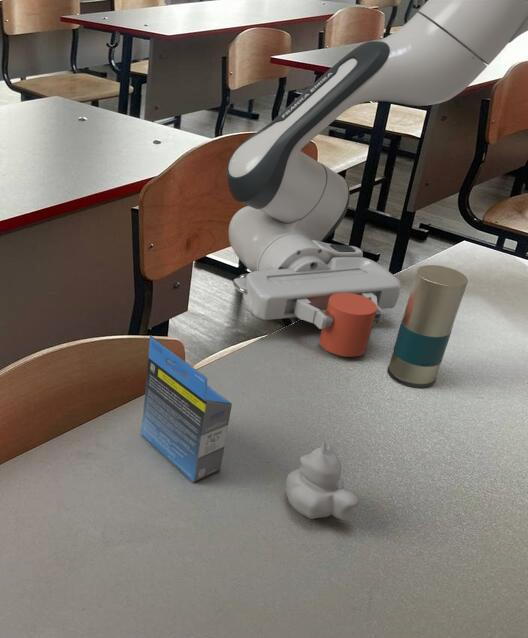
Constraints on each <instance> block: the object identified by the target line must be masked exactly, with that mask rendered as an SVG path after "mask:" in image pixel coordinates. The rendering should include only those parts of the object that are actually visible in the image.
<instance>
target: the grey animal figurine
mask: <svg viewBox="0 0 528 638" xmlns="http://www.w3.org/2000/svg"><path fill="white" fill-rule="evenodd" d="M300 463H301V466H300V468H297V469H294V470H292V471H291V472H290V473H288V475H287V476H286V481H285V491H286V492H285V493H286V496H287V500H288V502H289V504H290V505H291V507H292V508H293V509H294V510H296V512H298V513H299V514H301V515H302V516H305V517H306V518H308V519H310V520H315V519H318V518H319V519H321V518H326V517H327V518H328V517H329V516H332V517H335V518H337V519H339V520H343V521H346V520H347V521H348V520H349V519H350V518H351V517H352V511H353V510H354V509H355V508H356V507H357V506H358V504H359V498H358V496H357V495H356V494H355V493H353V492H352V491H350V490H348V489H346V488H344V487H345V486H344V485H345V484H344V483H345V482H344V479H343V478H342V477H341V474H342V463H341V460H340V458H339V456H338V454H337V452H336V451H335V449H334V447H333V446H332V445H329V446H327V444H326V440H325V439H324V440H323V441H322V445H321V446H320V447H317V448H315V449H313V450H312V451H310V453H308V454H304V455H302V456H301V457H300Z"/></svg>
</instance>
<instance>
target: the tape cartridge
mask: <svg viewBox="0 0 528 638" xmlns="http://www.w3.org/2000/svg"><path fill="white" fill-rule="evenodd" d="M148 342H149V343H148V356H147V358H148V359H147V366H146V367H147V368H146V369H147V370H146V379H145V389H144V390H145V391H144V400H143V401H144V402H143V410H142V421H141V430H140V434H141V436H142V437H143V438H145V439H146V441H148V442H149V443H150V444H151V445H152V446H153V447H154V448H155V449H157V450H158V451H159V452H160V453H161V454H162V455H163V456H164V457H165V458H166V459H167V460H168V461H169V462H171V464H173V465H174V466H175V467H176V468H177V469H178V470H179V471H181V472H182V473H183V475H185V476H186V477H187V478H188V479H189V480H190V481H191V482H193V483H195V482H199V481H200V480H202V479H205V478H207V477H209V476H210V475H213V474H216V473H218V472H220V471H221V469H222V462H223V457H224V452H225V447H226V446H225V445H226V440H227V435H228V429H229V422H230V417H231V412H232V406H233V403H232V402H231V401H230V400H228V399H227V398H226V397H224V396H223V395H222V394H220V393H219V392H217V391H216V390H214V388H212V387H211V386H209V385H208V377H207V376H206V375H205V374H203V373H201V372H200V371H199V370H197V369H196V368H195V367H193V366H192V365H191V364H189V363H188V362H187V361H186V360H184V359H183V358H182V357H180V356H179V355H178V354H176V353H175V352H174V351H172V350H171V349H169V348H168V347H167V346H165V345H164V344H163V343H161V342H160V341H159V340H158V339H156V338H155V337H154V336H152V335H149V341H148Z"/></svg>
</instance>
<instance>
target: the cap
mask: <svg viewBox="0 0 528 638" xmlns="http://www.w3.org/2000/svg"><path fill="white" fill-rule="evenodd" d="M327 310H328V311H329V313H330V314H332V315H333V316H334V321H333V323H332V324H333V326H332V327H331V328H325V329H320V330H321V331H320V335H319V339H318V342H319V345H320V346H321V348H322V349H324V350H325V351H327V352H329V353H332V354H334V355H336V356H340V357H345V358H346V357H347V358H348V357H349V358H353V357H359V356H362V355H363V354H365V353H366V350H367V347H368V344H369V340H370V337H371V333H372V329H373V325H374V323H373V322H374V319H375V315H376V311H377V306H376V304H375V303H374V302H373V301H372V300H370V299H368V298H366V297H364V296H361V295H358V294H353V293H337V294H334V295H332V296H331V297H330V298H329V301H328V305H327Z"/></svg>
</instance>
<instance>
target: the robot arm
mask: <svg viewBox="0 0 528 638" xmlns="http://www.w3.org/2000/svg"><path fill="white" fill-rule="evenodd" d="M527 32H528V0H427V1H426V2H425V3H424V4H423V5H422V6H421V7H420V8H419V10H418V12H416V13H415V14H414V15H413V16H412V17H411V18H410V19H409V20H408V21H407V22H405V24H403V25H402V26H401V27H399V28H398V29H397V30H396V31H394V32H392V33H391V34H389V35H387V36H386V37H383V38H382V39H379V40H371V41H366V42H364V43H362V44H359V45H358V46H357V47H355V48H354V49H352V50H351V51H349V52H348V53H347V54H345V56H343V57H342V58H341V59H340V60H338V61H337V62H336V63H335V64H334V65H333V66H332V67H331V68H329V69H328V70H327V71H326V72H325V73H324V74H322V75H321V76H320V77H319V78H318V79H317V80H316V81H315V82H314V83H313V84H312V85H310V86H309V87H308V88H307V89H305V91H304V92H302V93H301V94H300V95H299V96H298V97H297V98H296V99H294V100H293V102H291V104H289V105H288V106H287V107H286V108H285V109H283V111H282V112H280V113H279V115H277V116H276V117H275V118H274V119H273V120H272V121H271V122H269V123H268V124H267V125H265V126H264V127H262V128H261V129H259V130H258V131H256V132H255V133H254V134H252V135H250V136H249V137H247V138H246V139H245V140H244V141H243V142H241V143H240V144H239V145H238V146H237V147H236V148H235V150H234V151H233V153H232V154H231V155H230V157H229V159H228V162H227V166H226V180H227V185H228V190H229V192H230V195H231V197H232V198H233V200H235V201H236V202H239V203H241V204H243V205H246V206H244V207H241V208H240V209H239V210H238V211H236V212H235V214H233V216H232V218H231V219H230V222H229V225H228V231H227V232H228V240H229V244H230V247H231V248H232V251H233V252H234V254H235V256H236V257H237V258H238V259H239V260H240V262H241V263H242V264H243V265H244V266H245V268H247V270H249V271H250V272H249V273H243V274H240V275H238V277H236V278H234V279H233V280H232V285H233V287H234V289H236V290H237V291H238V292H239V293H241V294H242V297H243V300H244V302H245V304H246V306H247V308H248V309H249V311H250V312H251V313H252V314H253V316H254V317H256V318H257V319H260V320H264V321H271V320H280V319H281V320H282V319H290V318H298V319H299V320H303V321H304V322H308V323H310V324H314V326H316V327H317V328H318V329H319V330H322V329H325V328H331V327H332V326H333V324H332V323H333V321H334V316H333V315H332V314H330V313H329V311H328V310H327V305H328V301H329V298H330V297H331V296H332V295H334V294H337V293H353V294H358V295H361V296H364V297H366V298H368V299H370V300H372V301H373V302H374V303H375V304H376V306H377V311H376V315H375V319H374V322H373V324H381V323H383V321H384V317H385V311H384V310H383V309H393V308H394V307H395V306H396V305H397V302H398V299H399V297H400V294H401V289H402V288H401V287H402V285H401V281H400V279H399V278H397V276H396V275H394V274H393V273H391V271H389V270H388V269H387V268H385V267H384V266H382V265H381V264H380V263H378V262H377V261H374V260H372V259H370V258H367V257H364V255H363V254H364V252H363V250H362V249H361V248H359V247H357V246H354V245H342V244H335V243H327V242H324V241H325V240H327V239H328V238H329V237H331V235H332V234H333V233H334V232H335V231H336V230H337V228H338V227H339V226H340V225H341V223H342V221H343V220H344V218H345V216H346V214H347V212H348V208H349V205H350V196H351V195H350V194H351V193H350V187H349V183H348V181H347V180H346V178H345V177H344V176H342V175H340V174H339V173H337V172H336V171H334V170H333V169H331V168H330V167H328V166H326V165H325V164H323V163H322V162H319V161H317V160H316V159H314V158H312V157H311V156H310V155H307V154H306V153H305V152H303V151H302V149H304V148H305V146H307V145H308V144H309V143H310V142H311V141H312V140H314V139H315V138H316V137H317V136H318V135H319V134H320V133H321V132H323V131H324V130H325V129H326V128H327V127H328V126H330V125H331V124H332V123H333V122H334V121H335V120H336V119H338V117H339V118H340V116H341V115H342V114H343V113H345V112H346V111H347V110H349V109H350V108H352V107H355V106H357V105H359V104H363V103H368V102H390V103H396V104H402V105H407V106H416V107H417V106H419V107H421V106H431V105H432V106H433V105H437V104H441V103H445V102H447V101H450V100H452V99H453V98H454V97H456V96H457V95H459V94H461V93H462V92H463V91H464V90H466V89H467V88H468V87H469V86H470V85H471V84H472V83H473V82H474V81H475V80H476V79H477V78H478V77H479V76H480V75H481V74H482V73H483V72H484V71H485V70H486V68H487V67H488V66H490V64H491V63H492V62H493V61H494V60H495V59H496V58H497V57H498V55H499V54H500V53H501V52H502V51H503V50H504V49H505V48H506V46H508V44H511V43H512V42H513V41H514V40H516V39H517V38H518V37H519V36H521V35H523V34H524V33H527Z"/></svg>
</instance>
